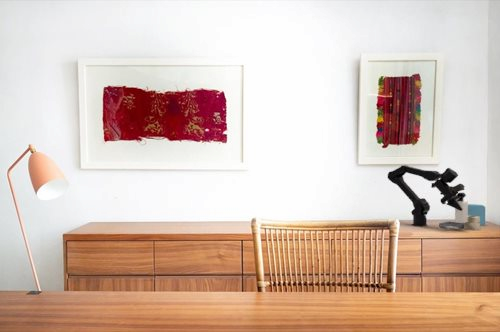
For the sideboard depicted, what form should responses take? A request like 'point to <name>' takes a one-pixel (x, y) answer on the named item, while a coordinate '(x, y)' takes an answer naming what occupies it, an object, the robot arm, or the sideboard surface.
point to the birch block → (472, 223)
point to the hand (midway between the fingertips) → (464, 209)
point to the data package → (477, 212)
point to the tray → (453, 224)
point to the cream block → (462, 212)
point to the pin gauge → (448, 227)
